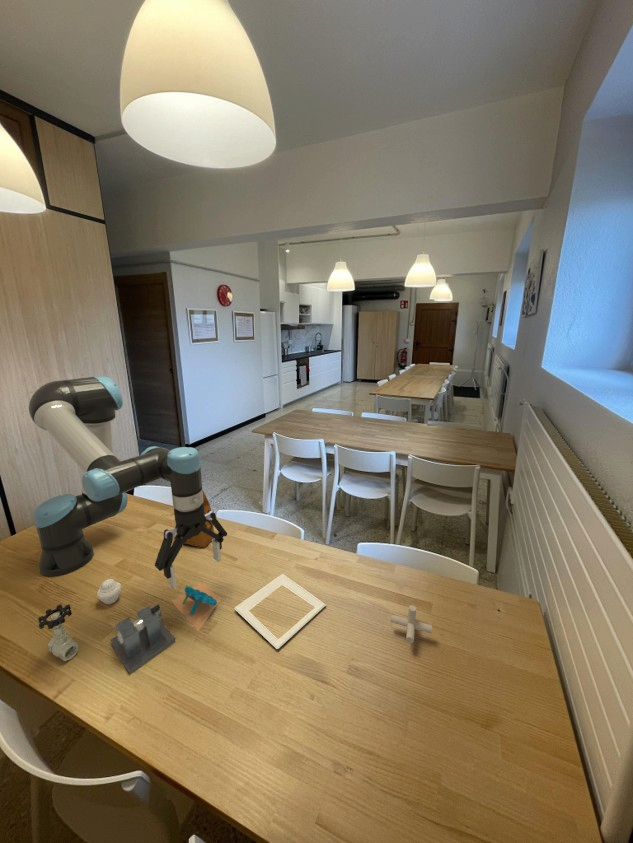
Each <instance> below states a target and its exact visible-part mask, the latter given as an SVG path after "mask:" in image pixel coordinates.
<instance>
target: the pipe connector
mask: <svg viewBox="0 0 633 843" xmlns="http://www.w3.org/2000/svg"><path fill="white" fill-rule="evenodd" d="M407 613H408V614H407V618H405V617H401V616H399V615H393V614H391V617H390V623H393V624H395V625H399V626H403V627H406V638H405V640H406V642H407V643H409V644H414V642H415V630H418V631H422V632H425V633H428V634H432V631H433V626H432V624H429V623H424V622H421V621H416V616H417V615H416V614H417V607H416V606H415V605H414V604H411V605H409V606H408V612H407Z"/></svg>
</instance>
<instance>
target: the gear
mask: <svg viewBox="0 0 633 843" xmlns="http://www.w3.org/2000/svg"><path fill="white" fill-rule="evenodd" d="M193 588H194V587H191V586H189V585H188V584H186V586H185V587H184V589H183V590H184V594H185V593H186V594H185V595H186V597H185V599H184V600H183V602H182V604H183V605H184V604H185V602H186V600H187V598H188V597H189V598H190V599H192V600H193V601H195V604H194V606H193V608H192V610H191V612H190V614H191V615H193V614H194V612H195V610H196V608H197V606H198V604H200V603H201V601H202V602H203V603H207V602H208V604H209V605H216V604H217V602H216V600H215V599H213V597H212V596H208V595H207V594H206V593H204V592H200V590H197V589H196V590H195V589H193ZM217 605H218V604H217ZM217 605H216V606H217Z"/></svg>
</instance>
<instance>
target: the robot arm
mask: <svg viewBox="0 0 633 843" xmlns="http://www.w3.org/2000/svg"><path fill="white" fill-rule="evenodd" d="M123 402H124V401H123V397H122V393H121V391H120V388H119V387H118V385H117V384H116V382H115V381H114V380H113V379H112V378H110V377H108V376H89V377H80V378H73V379H65V380H64V379H63V380H54V381H50V382H47V383H45V384H44V385H43V384H42V386H40V387H39V388H38V389H37V390H36V391H35V392H34V393H33V395H32V396H31V398H30V401H29V402H28V403H29V404H28V412H29V415H30V419H31V420H32V421H33V423H34V424H35V425H36V426H37V427H38V428H39V429H41V430H42V431H47V432H48V433H49V434H50V435H51V437H53V440H55V441H56V442H57V444H59V446H60V447H62V449H63V450H64V451H65V452H66V453H67V455H68V456H69V457H70V458H71V459H72V460H73V461H74V463H75V464H76V465H77V466H78V467H79V469H80V470H82V471H83V475H82V477H81V483H82V486H81V489H80V490H81V494H78V495H76V496H75V495H74V494H71V493H65V494H63V495H61V494H59V495H56V496H53V497H51V498H48V499H47V500H45V501H44V502H42V503H41V504H39V505H38V506H37V507H36V508H35V510H34V511H33V519H34V522H33V524H34V526H35V528H36V533H37V536H38V539H39V544H40V547H41V553H40V554H41V555H40V560H39V563H38V564H39V565H38V567H39V571H40V573H41V575H42V576H44V577H47V578H55V577H56V578H57V577H61V576H65V575H69V574H71V573H73V572H76V571H78V570H79V569H82V568H83V567H85V566H86V565H87V564H89V562H90V561H92V560H93V557H94V555H95V552H94V549H93V546H92V545H91V543H90V542H89V540H88V539H87V537H85V535H84V529H86V528H89V527H91V526H92V525H95V524H98V523H100V522H102V521H106V520H107V519H109V518H112V517H115V516H116V515H118V514H121V513H122V512H124V511H125V510H126V508H127V506H128V499H129V498H128V493H127V492H129V491H131V490H134V489H135V488H139V487H142V486H144V485H146V484H149V483H152V482H154V481H157V480H159V479H162V480H164V481H167V482H169V483H170V487H171V488H170V489H171V498H172V507H173V515H174V523H175V527H174V528H173V529H170V530H169V529H168V528H166V529H165V530H163V539H162V542H161V544H160V545H161V546H160V548H159V551H158V553H157V556H156V560H155V562H154V567H155V568H156V569H157V570H158V571H159V572H160V571H161V572H162V571H163V575H164V577H165V578H166V579H167V581H168V584H169V585H170V587H171V588H172V589H176V588H177V580H176V573H175V572H176V570H175V566H174V565H173V563H174V562H175V560H176V558H177V556H178V555H179V552H180V551H181V549H182V547H183V546H184V545H186V544H185V543H186V541H187V539H191V538H192V537H194V536H197V535H199V533H200V532H201V531H202V532H204V533H206V534H208V535H209V536H211V537H213V538H214V539H212V541H211V546H212V556H213V557H212V558H213V560H215V561H216V562H217V563H221V560H222V558H221V550H222V548H223V542H224V539H225V538H224V537H227V536H228V533H227V531H226V530H225V528H224V527H223V526H222V525H221V523H220V522H219V520H218V519H217V516H216V513H215V512H214V511H212V510H211V511H210V510H208V511H207V514H205V511H204V503H203V491H204V490H203V480H202V468H201V465H202V463H201V460H200V453H199V451H198V450H197V449H196V448H194V447H190V446H189V447H186V446H181V447H176V448H173V449H171V450H169V449H168V448H165V447H161V446H149V447H147V448H146V449H144V450H143V452H141V454H140V455H137V456H134V457H130V458H128V459H124V460H120V459H119V458H117V456H116V455H115V454H114V453H113V450H114V449H113V442H112V441H113V439H112V437H113V436H112V425H111V424H112V422H113V421H114V420H115V419H116V411H119V410H121V409H122V408H123V405H124V403H123ZM202 490H203V491H202ZM206 519H207V520H209V521H210V522H211V523H212V524H213V528H214V529H216V531H218V533H217V532H215V531H214V532H213V531H211V530H209V529H208V528H206V527H204V524H205V522H206ZM181 536H182V537H183V538H182V539H181ZM173 540H174V541H173Z"/></svg>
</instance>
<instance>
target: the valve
mask: <svg viewBox="0 0 633 843" xmlns="http://www.w3.org/2000/svg"><path fill="white" fill-rule="evenodd" d="M72 614H73V612H72V608H71V604H67V605H65V606H64V607H63V605H62V604H58V605H57V606H56V607H55V608H54V609H51V608H49V609H46V610H45V615H41V616H39V617H38V618H37V621H38V627H39V629H40V630H43V629H44V628H45V626H47V630H51V629H53V633H54V635H53V636H52V638H51V639H50V640H49V641H48V643H47V648H48V651H49V652H51V653H52V654H53V656H55V657H56V658H59V659H61V660H62V661H64V662H67V661H68V660H72V659H73V658H74V657H75V656H76V654H78V652H79V650H80V648H79V644H78V642H76V641H74V639H73V638H72V637H70V636H69V632H68V630H67V629H65V628H64V623H65V622H66V618H65V617H66V616H68V617H71V616H72ZM49 617H50V620H48V618H49Z"/></svg>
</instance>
